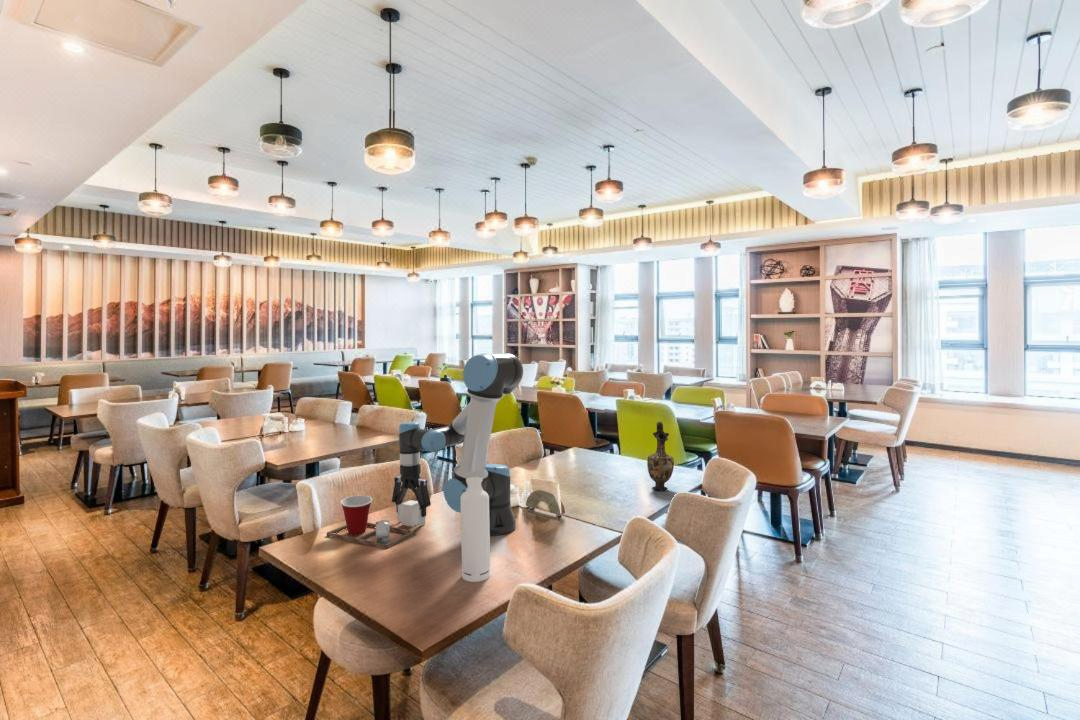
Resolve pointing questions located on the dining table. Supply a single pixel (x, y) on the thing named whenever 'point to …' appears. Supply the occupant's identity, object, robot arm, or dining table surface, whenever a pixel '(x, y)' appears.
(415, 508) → the sugar box
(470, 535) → the bottle
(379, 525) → the silvery rounded piece
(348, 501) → the plastic cup
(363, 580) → the dining table surface
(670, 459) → the vase
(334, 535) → the holder frame
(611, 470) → the dining table surface
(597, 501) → the dining table surface
